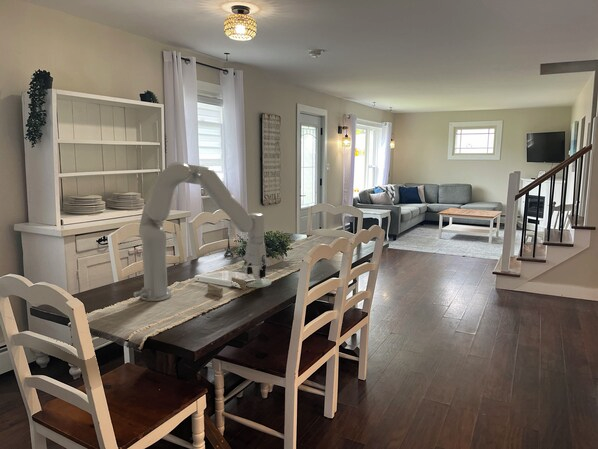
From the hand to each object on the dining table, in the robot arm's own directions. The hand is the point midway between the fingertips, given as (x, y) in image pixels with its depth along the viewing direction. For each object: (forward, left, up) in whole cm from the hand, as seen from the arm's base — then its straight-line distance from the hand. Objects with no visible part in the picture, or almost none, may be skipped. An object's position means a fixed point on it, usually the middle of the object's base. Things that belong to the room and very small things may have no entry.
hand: (256, 275), depth 216 cm
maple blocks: (-17, +1, -4) cm, 17 cm away
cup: (0, 0, -3) cm, 3 cm away
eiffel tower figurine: (+24, +50, -5) cm, 56 cm away
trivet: (0, 0, -4) cm, 4 cm away
